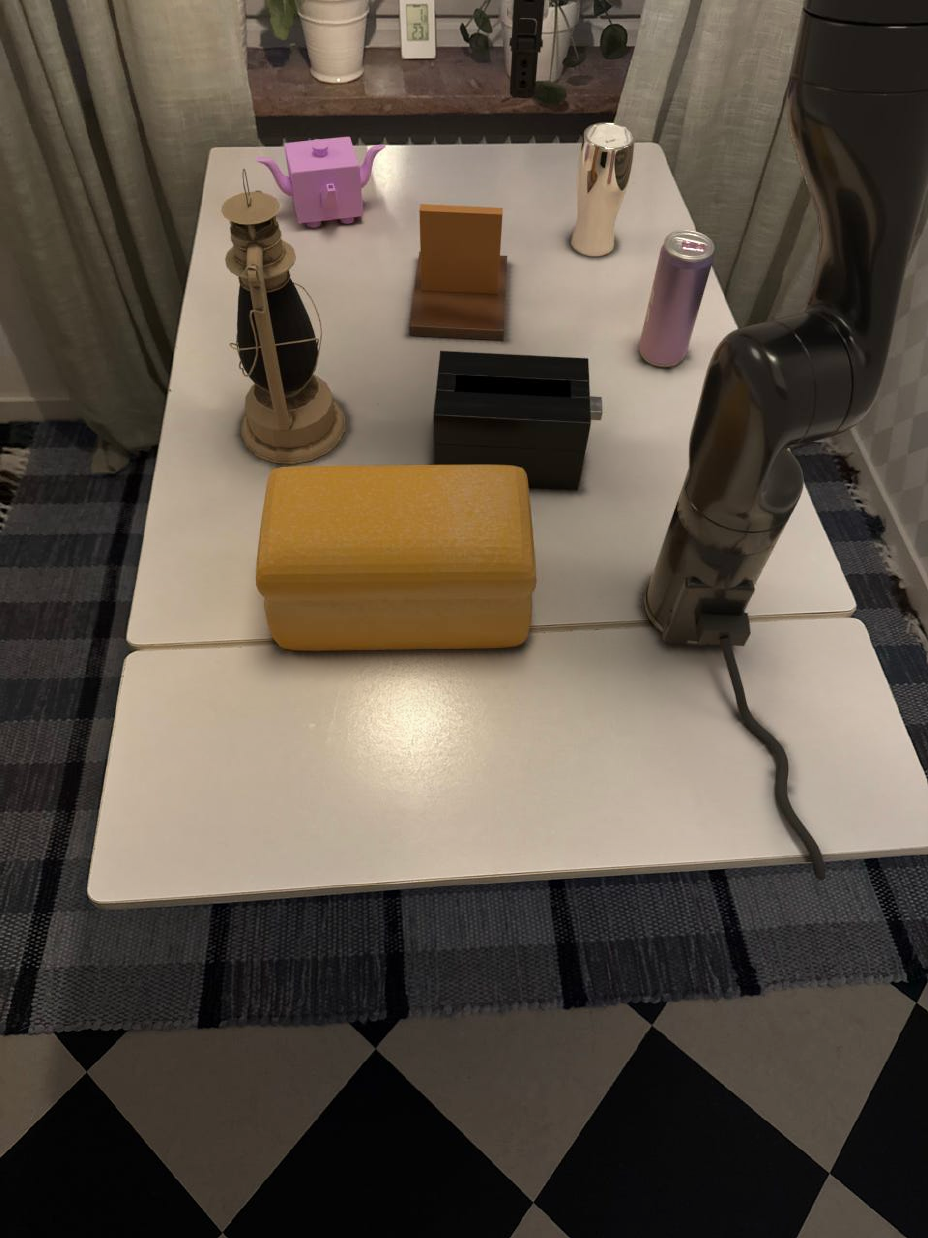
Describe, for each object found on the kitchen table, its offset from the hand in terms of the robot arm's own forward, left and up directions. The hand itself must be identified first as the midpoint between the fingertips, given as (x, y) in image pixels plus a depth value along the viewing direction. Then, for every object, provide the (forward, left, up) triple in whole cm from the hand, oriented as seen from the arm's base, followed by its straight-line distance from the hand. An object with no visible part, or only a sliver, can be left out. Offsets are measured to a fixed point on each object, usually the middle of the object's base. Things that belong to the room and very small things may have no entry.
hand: (522, 73), depth 77 cm
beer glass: (+28, -12, -34) cm, 46 cm away
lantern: (-11, +24, -34) cm, 43 cm away
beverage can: (+5, -20, -34) cm, 40 cm away
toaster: (-14, -1, -34) cm, 37 cm away
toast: (+14, +6, -32) cm, 36 cm away
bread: (-35, +9, -34) cm, 49 cm away
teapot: (+32, +26, -34) cm, 53 cm away
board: (+14, +6, -34) cm, 37 cm away
